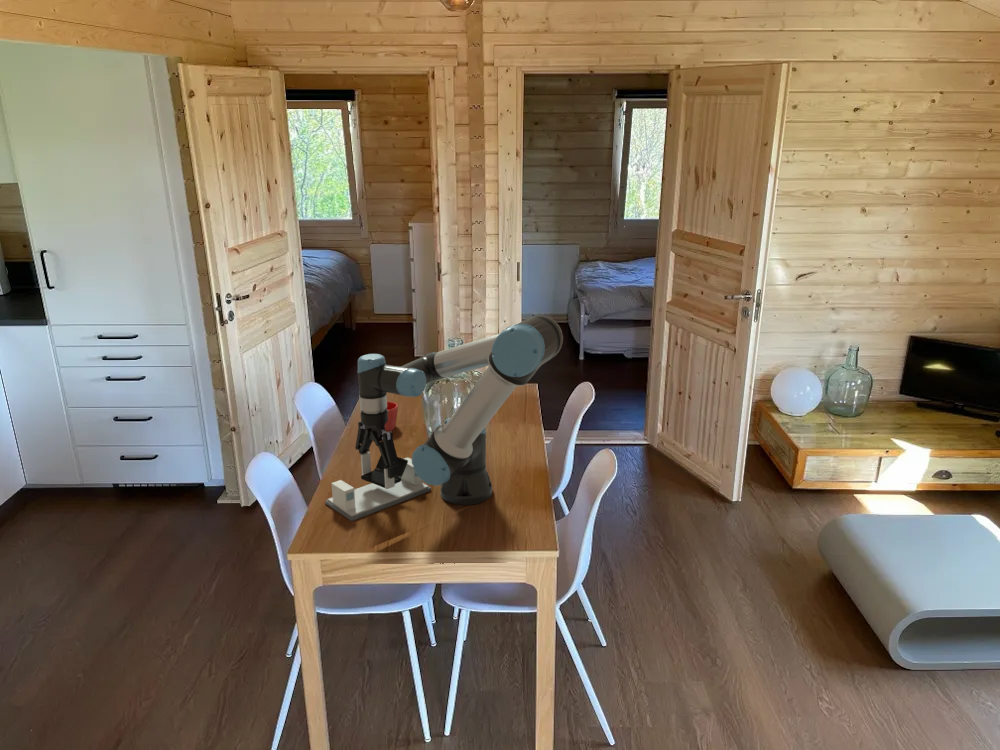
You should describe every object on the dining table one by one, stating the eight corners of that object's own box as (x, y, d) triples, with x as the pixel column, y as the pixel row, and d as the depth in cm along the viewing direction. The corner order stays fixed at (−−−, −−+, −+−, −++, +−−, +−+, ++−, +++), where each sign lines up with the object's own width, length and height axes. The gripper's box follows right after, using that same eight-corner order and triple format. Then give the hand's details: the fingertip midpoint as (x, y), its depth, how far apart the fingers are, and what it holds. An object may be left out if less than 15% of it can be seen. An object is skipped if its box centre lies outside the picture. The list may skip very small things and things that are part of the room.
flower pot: (365, 428, 261) (363, 403, 259) (394, 424, 265) (393, 399, 263) (372, 439, 252) (370, 412, 249) (402, 434, 256) (401, 408, 253)
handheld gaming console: (364, 484, 212) (359, 477, 210) (387, 459, 217) (382, 451, 215) (390, 494, 205) (384, 486, 203) (412, 467, 210) (408, 459, 208)
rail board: (431, 490, 213) (430, 467, 211) (351, 521, 196) (349, 496, 194) (403, 475, 223) (402, 453, 221) (325, 503, 206) (323, 479, 203)
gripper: (409, 417, 196) (413, 490, 202) (362, 396, 212) (366, 464, 219) (386, 423, 191) (390, 498, 197) (339, 402, 207) (345, 471, 214)
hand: (378, 480), depth 208 cm, fingers closed on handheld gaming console, 11 cm apart
